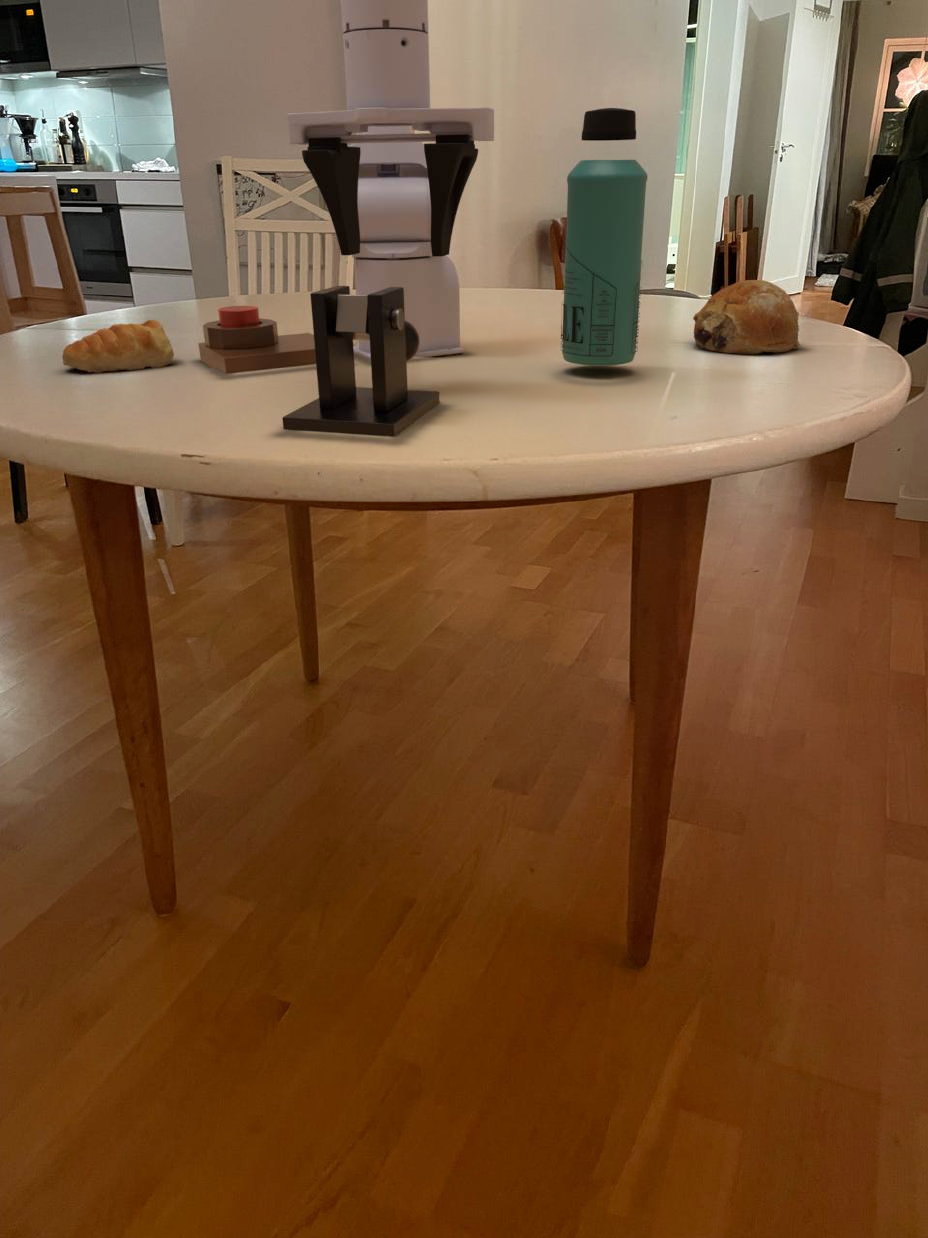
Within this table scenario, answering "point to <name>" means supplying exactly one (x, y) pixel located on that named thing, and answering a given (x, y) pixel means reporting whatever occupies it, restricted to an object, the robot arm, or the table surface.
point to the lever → (366, 322)
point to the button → (238, 316)
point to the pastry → (121, 348)
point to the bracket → (338, 395)
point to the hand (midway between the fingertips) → (395, 254)
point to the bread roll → (748, 320)
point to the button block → (254, 347)
